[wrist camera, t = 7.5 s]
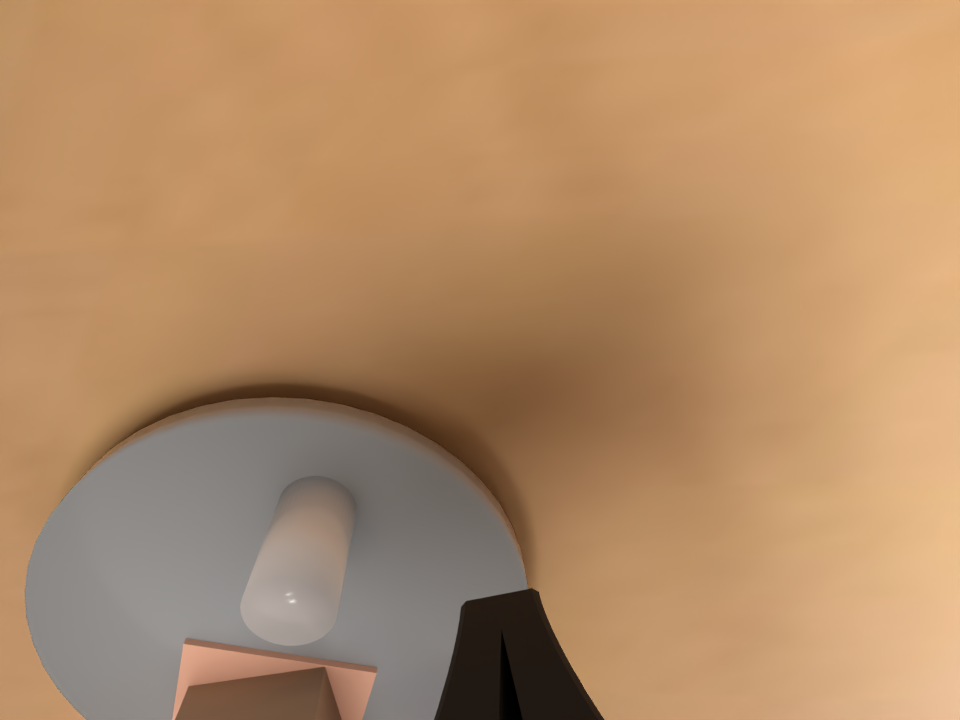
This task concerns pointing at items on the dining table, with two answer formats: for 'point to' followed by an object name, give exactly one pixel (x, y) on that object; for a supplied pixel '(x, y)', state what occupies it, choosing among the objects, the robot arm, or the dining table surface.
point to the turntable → (265, 561)
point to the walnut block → (263, 698)
